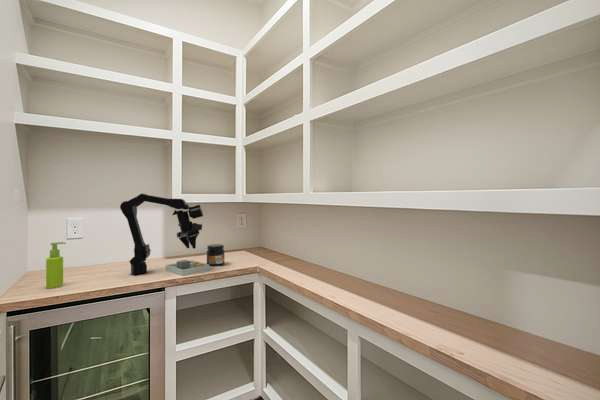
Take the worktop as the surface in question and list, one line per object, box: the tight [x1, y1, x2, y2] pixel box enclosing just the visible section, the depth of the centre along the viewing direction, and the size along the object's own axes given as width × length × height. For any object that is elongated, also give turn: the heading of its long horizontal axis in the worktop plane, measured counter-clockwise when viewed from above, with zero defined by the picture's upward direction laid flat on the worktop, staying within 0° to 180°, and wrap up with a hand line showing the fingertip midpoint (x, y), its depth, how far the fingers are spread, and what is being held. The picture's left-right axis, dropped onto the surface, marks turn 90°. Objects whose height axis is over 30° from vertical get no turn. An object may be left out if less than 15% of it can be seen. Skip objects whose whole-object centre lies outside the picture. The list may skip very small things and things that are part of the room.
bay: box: [164, 260, 210, 277], centre depth 155 cm, size 16×19×4 cm
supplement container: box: [206, 243, 226, 267], centre depth 170 cm, size 10×10×12 cm
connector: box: [176, 259, 194, 270], centre depth 152 cm, size 8×4×6 cm, turn 141°
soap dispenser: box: [45, 241, 67, 289], centre depth 129 cm, size 6×7×20 cm
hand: (191, 248), depth 155 cm, fingers open, 9 cm apart
